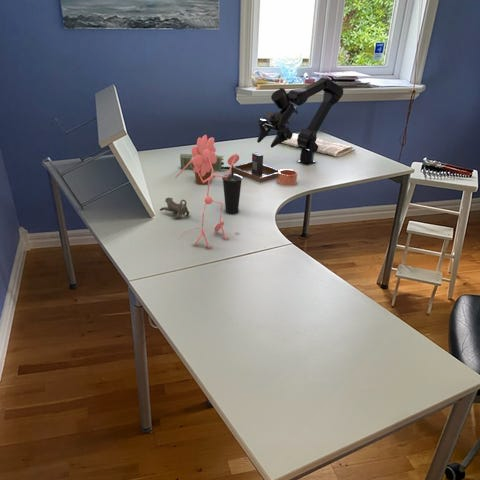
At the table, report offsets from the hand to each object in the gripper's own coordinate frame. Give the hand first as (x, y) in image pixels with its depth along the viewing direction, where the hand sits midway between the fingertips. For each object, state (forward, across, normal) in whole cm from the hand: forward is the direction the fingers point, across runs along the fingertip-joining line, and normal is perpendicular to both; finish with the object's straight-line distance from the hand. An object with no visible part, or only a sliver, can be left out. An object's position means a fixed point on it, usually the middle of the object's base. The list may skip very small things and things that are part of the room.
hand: (264, 144), depth 222 cm
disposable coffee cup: (+30, -6, -12) cm, 33 cm away
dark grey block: (+12, 0, +6) cm, 13 cm away
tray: (+12, 0, +7) cm, 14 cm away
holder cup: (+9, +16, +10) cm, 21 cm away
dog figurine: (+51, +17, -33) cm, 63 cm away
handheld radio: (+22, -19, -4) cm, 30 cm away
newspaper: (-28, -17, +47) cm, 57 cm away
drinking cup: (+37, +27, -19) cm, 50 cm away
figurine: (+53, +40, -34) cm, 75 cm away
